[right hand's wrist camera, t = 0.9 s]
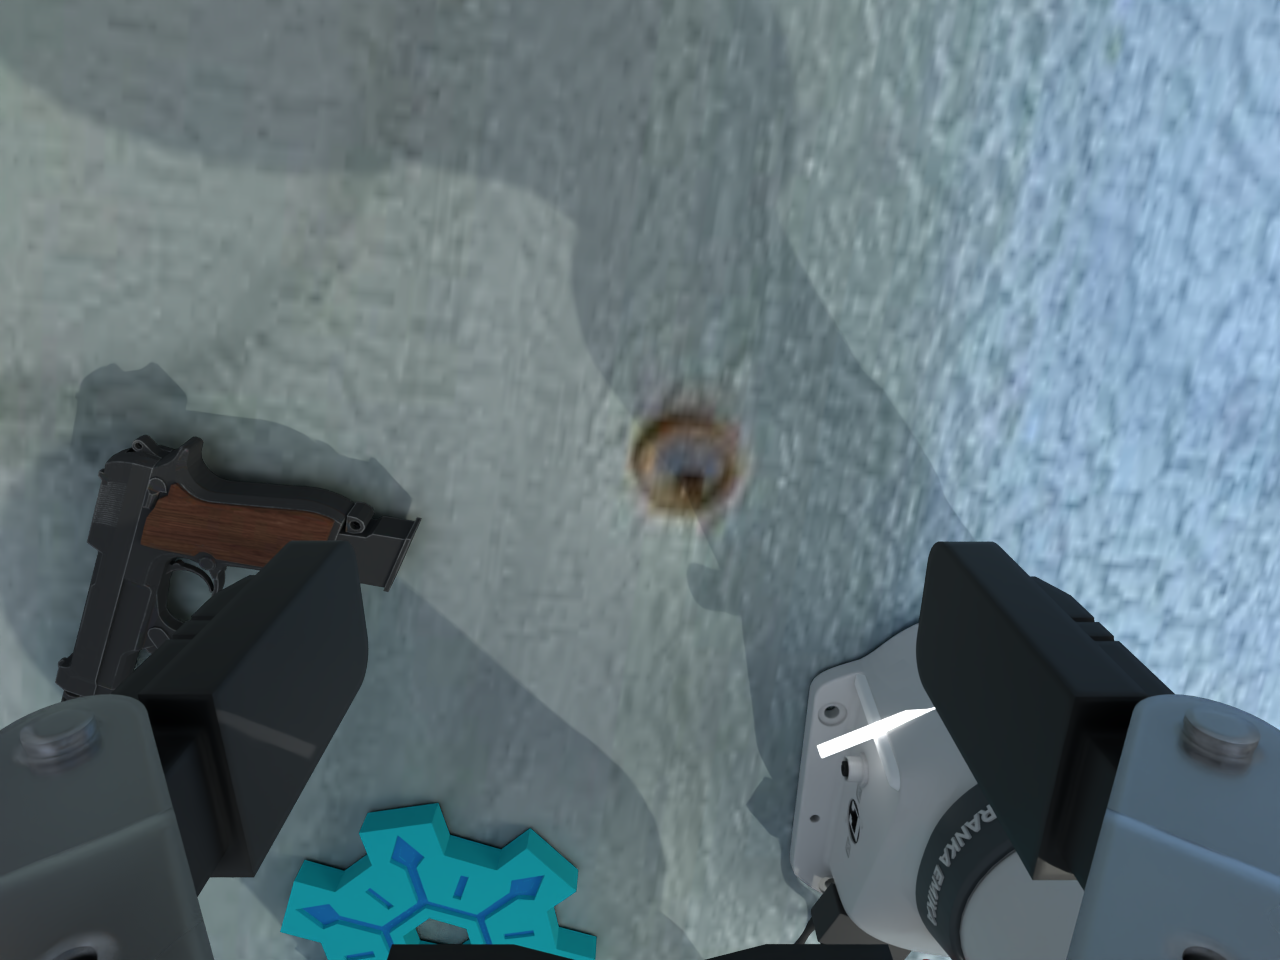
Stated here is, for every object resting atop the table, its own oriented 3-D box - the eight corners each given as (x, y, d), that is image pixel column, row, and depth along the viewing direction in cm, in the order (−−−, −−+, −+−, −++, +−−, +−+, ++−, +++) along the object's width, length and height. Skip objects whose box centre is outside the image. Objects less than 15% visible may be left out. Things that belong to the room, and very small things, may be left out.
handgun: (408, 544, 39) (98, 418, 36) (291, 810, 47) (28, 726, 44) (424, 511, 42) (141, 393, 39) (312, 766, 50) (68, 684, 47)
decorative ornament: (633, 856, 51) (328, 772, 48) (633, 877, 49) (318, 791, 47) (543, 1051, 57) (270, 985, 55) (540, 1075, 55) (259, 1008, 53)
